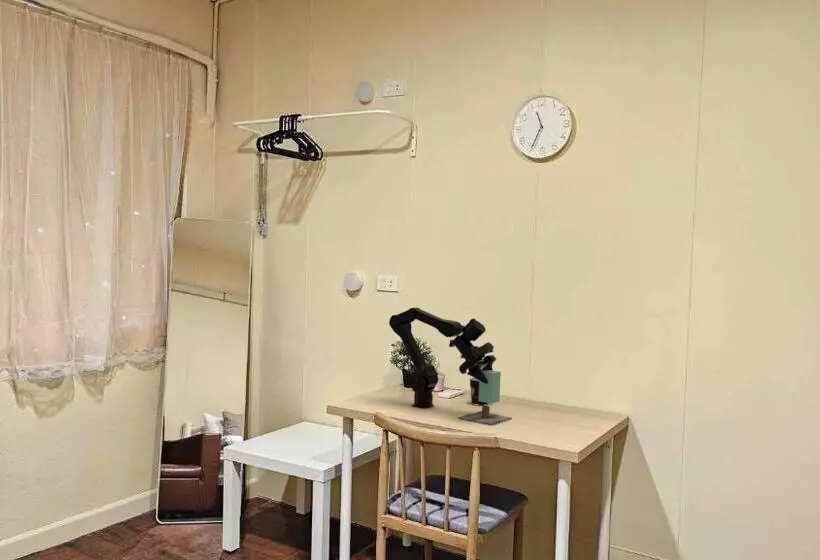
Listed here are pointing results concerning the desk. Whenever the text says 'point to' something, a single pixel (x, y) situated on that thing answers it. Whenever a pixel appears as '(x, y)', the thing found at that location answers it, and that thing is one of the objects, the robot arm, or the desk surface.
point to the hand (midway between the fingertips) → (491, 382)
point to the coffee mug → (475, 391)
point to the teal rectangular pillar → (490, 387)
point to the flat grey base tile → (485, 417)
